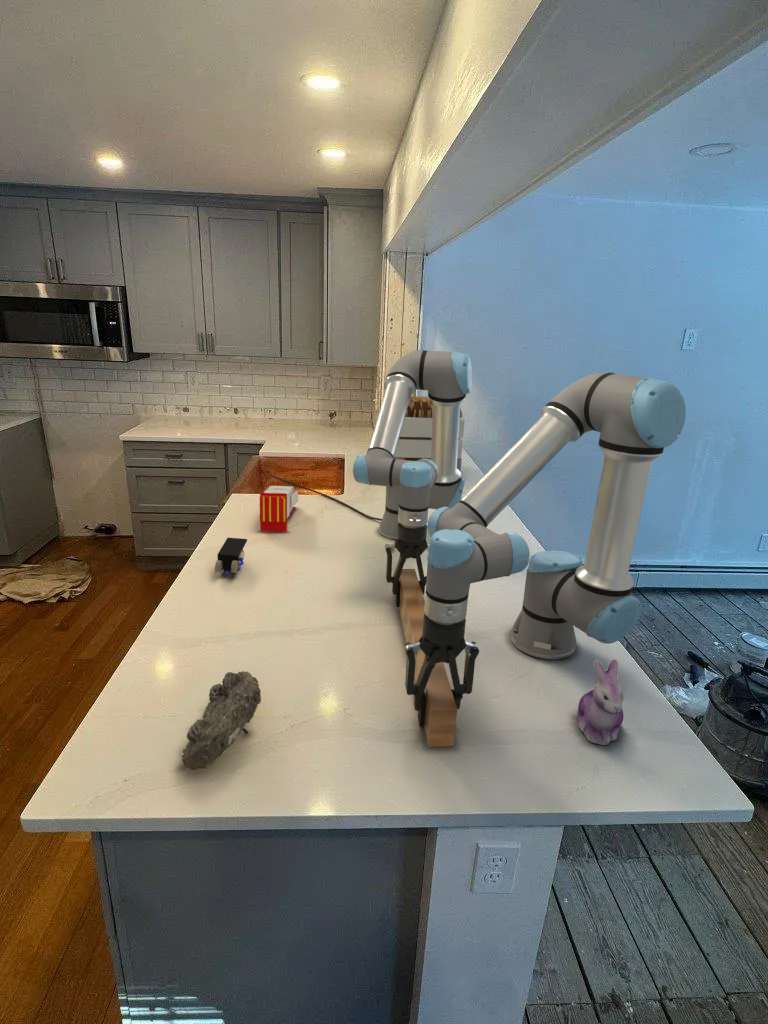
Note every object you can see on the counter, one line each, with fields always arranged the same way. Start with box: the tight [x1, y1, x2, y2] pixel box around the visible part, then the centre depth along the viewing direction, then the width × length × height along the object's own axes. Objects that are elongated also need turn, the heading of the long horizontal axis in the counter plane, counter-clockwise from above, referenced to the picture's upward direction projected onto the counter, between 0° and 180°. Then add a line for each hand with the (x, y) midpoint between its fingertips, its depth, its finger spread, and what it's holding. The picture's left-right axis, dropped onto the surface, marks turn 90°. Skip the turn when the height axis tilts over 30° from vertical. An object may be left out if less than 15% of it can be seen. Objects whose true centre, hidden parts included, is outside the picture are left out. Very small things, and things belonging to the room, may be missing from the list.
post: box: [398, 568, 458, 748], centre depth 129 cm, size 57×5×8 cm, turn 5°
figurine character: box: [214, 537, 248, 578], centre depth 166 cm, size 7×8×15 cm
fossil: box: [181, 670, 262, 771], centre depth 103 cm, size 22×10×15 cm
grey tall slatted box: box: [394, 395, 465, 472], centre depth 268 cm, size 34×33×41 cm
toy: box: [259, 485, 299, 533], centre depth 208 cm, size 12×13×30 cm
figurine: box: [576, 658, 625, 746], centre depth 107 cm, size 9×10×15 cm
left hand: (407, 604), depth 151 cm, fingers closed on post, 5 cm apart
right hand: (435, 721), depth 109 cm, fingers open, 5 cm apart
